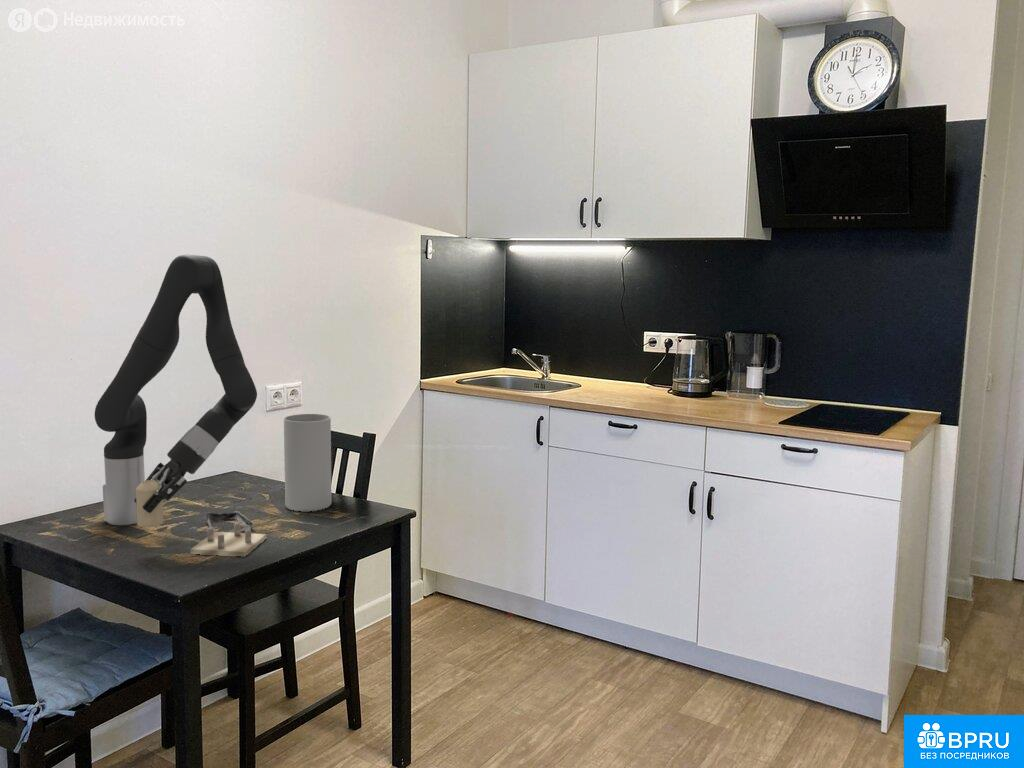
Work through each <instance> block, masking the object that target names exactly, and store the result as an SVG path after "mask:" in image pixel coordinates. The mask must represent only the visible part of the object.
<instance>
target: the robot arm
mask: <svg viewBox="0 0 1024 768" xmlns="http://www.w3.org/2000/svg"><path fill="white" fill-rule="evenodd" d="M164 275H165V276H164V278H163V279H162V283H161V285H160V288H159V291H158V293H157V295H156V297H155V300H154V302H153V304H152V307H151V308H150V310H149V312H148V314H147V317H146V318H145V320H144V322H143V324H142V326H141V327H140V329H139V330H138V333H137V335H136V337H135V338H134V340H133V342H132V344H131V347H130V349H129V350H128V352H127V354H126V356H125V358H124V360H123V361H122V364H120V367H119V369H118V371H117V372H116V374H115V376H114V378H113V379H112V381H111V382H110V384H109V385H108V387H107V388H106V390H104V392H103V394H102V395H101V397H100V398H99V400H98V401H97V403H96V405H95V409H94V421H95V423H96V426H97V427H98V428H99V429H100V430H102V431H104V432H107V433H113V432H114V434H113V437H112V438H111V439H110V440H109V442H107V443H106V444H105V445H104V448H103V457H104V479H105V484H103V485H102V501H103V504H102V505H103V521H104V522H106V523H108V524H109V525H111V526H129V525H135V524H136V525H137V502H136V488H137V487H138V486H139V484H140V483H141V482H142V481H143V482H145V481H147V480H155V481H156V482H158V486H159V487H158V489H157V490H156V492H155V495H154V494H153V495H152V496H151V497H150V499H149V500H148V501H147V502H146V503H145V504H144V505H143V509H144V510H146V511H147V512H148V513H151V512H152V511H153V510H154V509H155V508H156V506H157V505H158V504H159V503H160V502H161V501H162V500H163V502H164V501H165V500H167V501H170V499H171V498H172V497H174V496H175V494H177V493H178V491H179V490H181V489H182V488H183V487H184V486H185V485H186V484H187V482H188V480H187V479H185V475H186V473H188V474H189V475H194V474H195V473H196V472H197V471H198V470H199V468H200V467H201V466H202V465H203V464H204V463H205V462H206V461H207V460H208V458H209V457H210V456H211V455H212V454H213V453H214V451H215V450H216V448H217V447H218V445H219V444H220V443H221V442H222V441H223V439H225V437H226V436H227V435H228V434H229V433H230V431H232V429H233V427H234V426H235V425H237V423H238V422H239V421H240V420H241V419H242V418H243V417H245V415H246V414H247V413H248V412H249V411H250V410H251V409H252V408H253V407H254V405H255V404H256V401H257V399H258V391H257V387H256V384H255V382H254V380H253V377H252V375H251V373H250V372H249V369H248V368H247V366H246V363H245V360H244V355H243V353H242V351H241V348H240V346H239V343H238V340H237V338H236V334H235V332H234V328H233V324H232V321H231V317H230V316H231V315H230V312H229V307H228V306H229V305H228V303H227V297H226V293H225V287H224V281H223V276H222V274H221V270H220V267H219V265H218V263H217V262H216V261H215V260H214V259H213V258H211V256H206V255H200V254H199V255H197V254H180V255H177V256H176V257H175V258H174V259H173V260H172V261H171V262H170V264H169V266H168V268H167V271H166V272H165V274H164ZM192 294H196V295H197V294H198V296H199V297H200V299H201V302H202V303H203V306H204V310H205V313H206V314H205V317H206V322H205V323H206V325H205V342H206V343H205V344H206V347H207V351H208V354H209V357H210V359H211V362H212V364H213V368H214V370H215V372H216V373H217V375H218V376H219V378H220V381H221V384H222V387H223V389H224V394H223V396H222V397H220V399H219V400H218V401H217V402H216V404H215V405H214V406H213V407H212V408H210V409H209V410H208V411H206V412H205V413H204V415H202V416H201V418H199V420H198V421H197V422H196V423H195V424H194V425H193V426H192V427H191V428H189V429H188V430H187V431H186V432H185V434H184V435H183V436H181V438H180V439H179V440H178V441H177V442H176V443H175V444H174V446H172V448H171V449H170V450H169V451H168V452H167V454H166V455H167V457H168V458H169V459H170V460H169V461H168V462H167V463H165V464H163V463H162V462H159V463H158V464H157V465H156V467H155V468H154V469H153V470H152V471H151V473H150V474H149V476H147V478H146V479H145V475H146V474H145V459H144V458H145V457H144V453H145V452H144V449H145V446H146V443H147V430H148V429H147V426H148V424H147V419H148V417H147V407H146V404H145V401H144V399H143V398H142V397H141V395H139V394H140V391H141V390H142V389H143V388H144V387H145V386H146V385H147V384H148V383H149V382H151V381H153V379H154V378H155V377H156V376H157V375H158V374H159V373H160V372H161V371H162V370H163V369H164V368H165V367H166V366H167V364H168V362H169V361H170V360H171V357H172V356H173V354H174V352H175V350H176V349H177V346H178V345H179V344H178V343H179V342H180V341H179V340H180V315H181V312H182V309H183V308H184V306H185V305H186V302H187V301H188V300H189V298H190V296H191V295H192Z"/></svg>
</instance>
